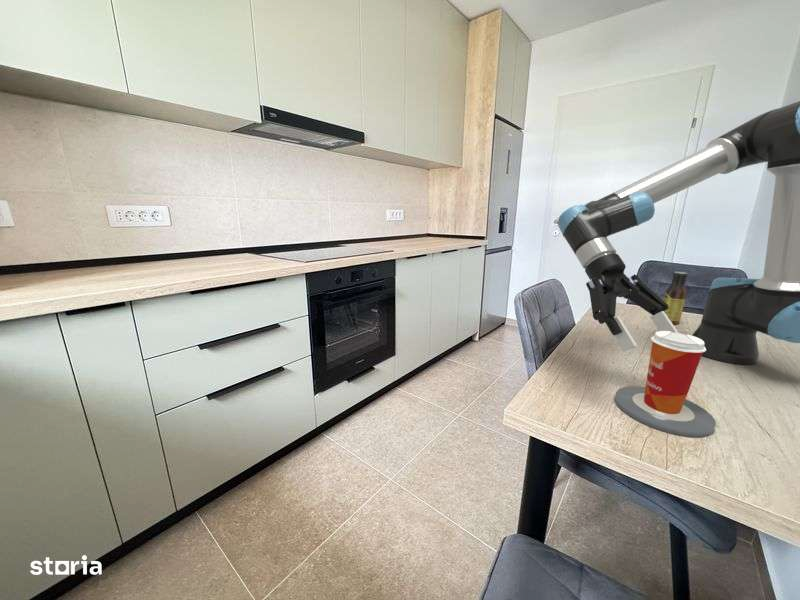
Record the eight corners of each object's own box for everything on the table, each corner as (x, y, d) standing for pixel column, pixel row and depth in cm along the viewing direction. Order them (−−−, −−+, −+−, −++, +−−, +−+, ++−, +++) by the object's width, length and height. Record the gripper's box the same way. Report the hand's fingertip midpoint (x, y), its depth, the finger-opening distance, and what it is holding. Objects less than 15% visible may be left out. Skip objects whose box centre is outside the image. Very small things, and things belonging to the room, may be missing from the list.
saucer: (647, 386, 76) (648, 381, 76) (733, 427, 61) (735, 421, 61) (597, 397, 71) (598, 392, 70) (678, 445, 56) (680, 439, 56)
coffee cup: (638, 390, 72) (653, 326, 68) (687, 404, 66) (706, 336, 63) (635, 407, 65) (651, 337, 61) (689, 423, 60) (710, 349, 56)
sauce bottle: (660, 319, 129) (672, 270, 124) (680, 323, 125) (693, 272, 120) (656, 322, 125) (668, 271, 120) (676, 326, 120) (690, 274, 115)
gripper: (624, 269, 83) (675, 344, 73) (548, 273, 75) (594, 359, 65) (650, 250, 77) (710, 330, 67) (571, 252, 69) (625, 344, 59)
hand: (653, 344), depth 66 cm, fingers open, 13 cm apart
